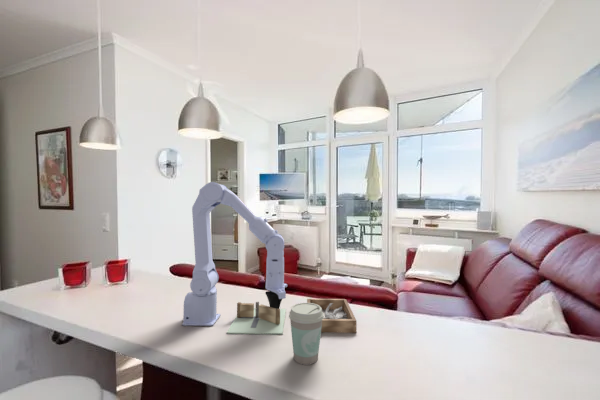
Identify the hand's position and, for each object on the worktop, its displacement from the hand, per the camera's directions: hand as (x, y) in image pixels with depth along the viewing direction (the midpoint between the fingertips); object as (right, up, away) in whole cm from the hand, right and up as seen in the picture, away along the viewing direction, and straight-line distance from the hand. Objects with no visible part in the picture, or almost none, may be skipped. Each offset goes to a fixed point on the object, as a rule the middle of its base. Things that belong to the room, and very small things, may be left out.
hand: (274, 314), depth 86 cm
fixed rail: (-9, -1, +1) cm, 9 cm away
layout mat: (-5, -2, -1) cm, 5 cm away
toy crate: (+18, -2, +1) cm, 18 cm away
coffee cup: (+10, -2, -21) cm, 23 cm away
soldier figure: (+19, -2, -1) cm, 19 cm away
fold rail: (-1, -1, -2) cm, 3 cm away
